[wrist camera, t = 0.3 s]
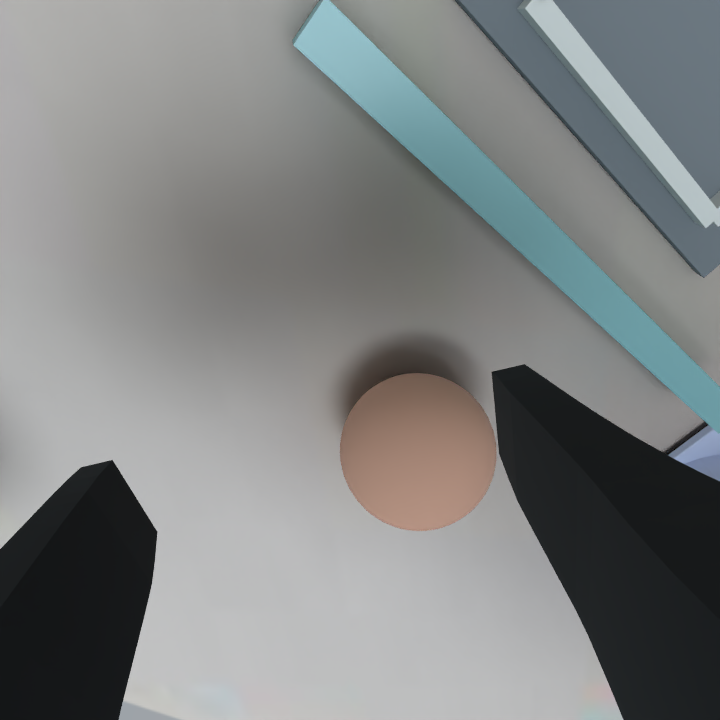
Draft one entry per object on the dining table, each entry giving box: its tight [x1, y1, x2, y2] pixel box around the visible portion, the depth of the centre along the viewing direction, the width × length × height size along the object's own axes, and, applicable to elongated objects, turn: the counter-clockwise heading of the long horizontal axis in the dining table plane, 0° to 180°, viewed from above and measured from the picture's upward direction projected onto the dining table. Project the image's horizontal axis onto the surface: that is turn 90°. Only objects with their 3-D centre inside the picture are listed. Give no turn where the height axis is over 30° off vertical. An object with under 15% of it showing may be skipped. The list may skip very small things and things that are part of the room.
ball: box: [340, 373, 496, 531], centre depth 20 cm, size 6×6×6 cm
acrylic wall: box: [293, 0, 720, 434], centre depth 18 cm, size 20×1×3 cm, turn 50°
